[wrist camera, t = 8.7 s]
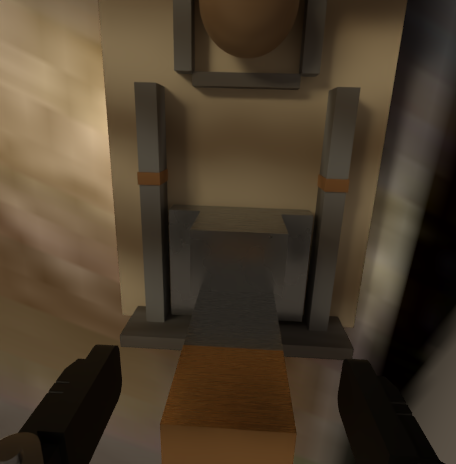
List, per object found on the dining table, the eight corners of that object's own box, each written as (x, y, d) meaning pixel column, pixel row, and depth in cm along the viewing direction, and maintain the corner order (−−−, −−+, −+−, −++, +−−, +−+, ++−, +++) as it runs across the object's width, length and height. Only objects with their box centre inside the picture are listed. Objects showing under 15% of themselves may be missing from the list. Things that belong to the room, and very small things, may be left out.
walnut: (205, -35, 15) (191, -91, 11) (296, -34, 15) (313, -91, 11) (205, 65, 16) (191, 45, 12) (288, 66, 16) (302, 47, 12)
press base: (105, -117, 16) (0, -299, 9) (409, -118, 15) (538, -314, 8) (133, 298, 22) (84, 372, 16) (344, 310, 22) (387, 391, 15)
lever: (173, 204, 18) (63, 319, 7) (309, 209, 17) (406, 338, 7) (175, 303, 20) (90, 514, 9) (298, 310, 19) (362, 536, 9)
